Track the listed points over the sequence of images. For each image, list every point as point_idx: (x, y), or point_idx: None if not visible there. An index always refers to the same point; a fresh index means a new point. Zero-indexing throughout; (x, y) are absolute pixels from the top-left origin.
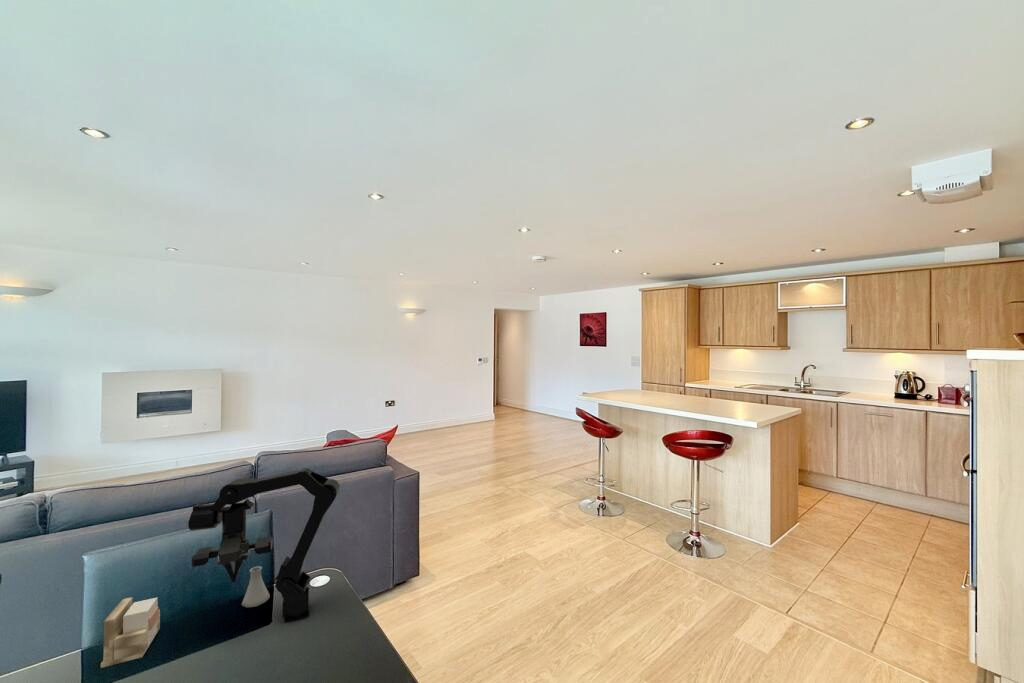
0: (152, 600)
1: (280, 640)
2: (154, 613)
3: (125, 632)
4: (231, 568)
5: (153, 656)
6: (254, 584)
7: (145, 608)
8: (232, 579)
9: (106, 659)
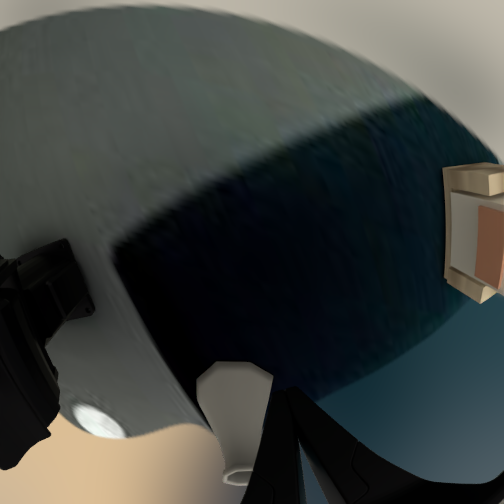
0: None
1: (46, 140)
2: (502, 249)
3: None
4: (335, 481)
5: (422, 159)
6: (236, 426)
7: None
8: (297, 400)
9: (491, 164)
